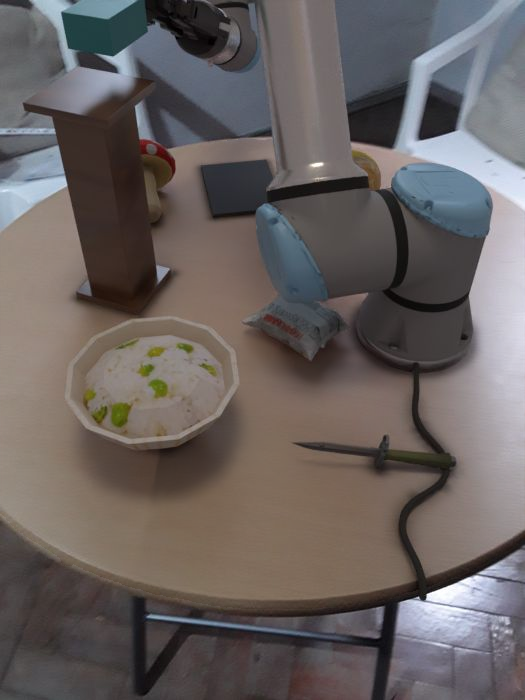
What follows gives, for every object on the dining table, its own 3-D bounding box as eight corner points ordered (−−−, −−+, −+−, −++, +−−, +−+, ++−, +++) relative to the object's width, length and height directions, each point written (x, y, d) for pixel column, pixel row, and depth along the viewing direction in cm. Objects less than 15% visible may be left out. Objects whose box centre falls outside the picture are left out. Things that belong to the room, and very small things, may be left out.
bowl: (54, 483, 75) (33, 426, 68) (106, 359, 88) (93, 301, 81) (226, 504, 73) (223, 448, 66) (253, 374, 87) (252, 316, 80)
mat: (284, 210, 113) (284, 207, 113) (213, 217, 112) (213, 214, 111) (266, 162, 124) (266, 159, 124) (201, 168, 123) (200, 165, 122)
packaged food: (310, 373, 87) (312, 346, 83) (241, 332, 92) (240, 304, 89) (349, 338, 92) (353, 311, 88) (281, 301, 97) (283, 273, 94)
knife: (287, 461, 76) (295, 433, 72) (288, 446, 77) (295, 418, 73) (451, 480, 77) (466, 454, 73) (448, 465, 78) (463, 439, 75)
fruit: (300, 211, 113) (303, 156, 106) (343, 187, 118) (348, 133, 111) (347, 237, 108) (353, 181, 101) (389, 211, 113) (398, 156, 106)
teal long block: (113, 57, 76) (107, 19, 73) (67, 48, 77) (60, 11, 74) (184, 6, 87) (181, -28, 84) (143, 0, 89) (139, -34, 86)
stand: (139, 318, 94) (106, 120, 74) (71, 298, 97) (22, 102, 76) (176, 272, 101) (155, 80, 81) (112, 255, 104) (76, 65, 84)
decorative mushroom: (155, 189, 102) (145, 113, 108) (98, 220, 106) (92, 145, 112) (197, 221, 111) (186, 150, 117) (144, 249, 115) (135, 178, 121)
